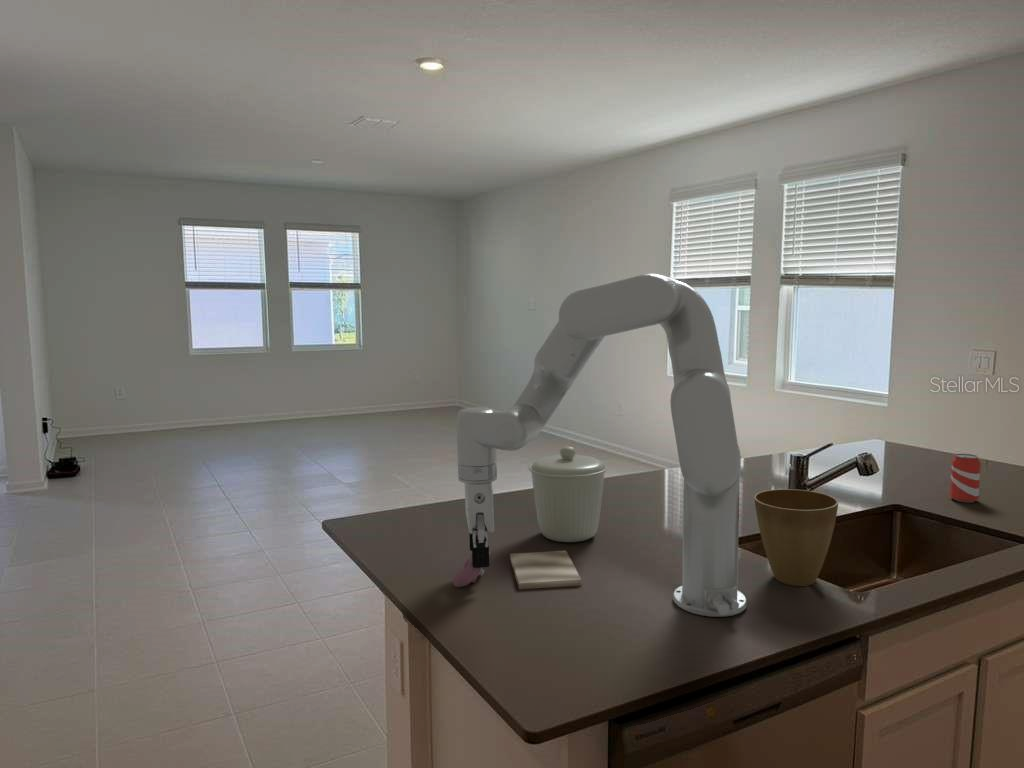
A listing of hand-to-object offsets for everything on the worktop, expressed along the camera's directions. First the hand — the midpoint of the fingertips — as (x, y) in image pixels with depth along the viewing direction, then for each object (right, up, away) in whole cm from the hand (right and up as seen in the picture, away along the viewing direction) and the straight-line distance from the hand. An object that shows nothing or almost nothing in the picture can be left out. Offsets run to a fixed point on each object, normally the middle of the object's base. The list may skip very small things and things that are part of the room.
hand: (479, 558), depth 138 cm
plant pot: (+61, -4, -2) cm, 61 cm away
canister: (+20, -1, +26) cm, 32 cm away
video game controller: (-1, -5, +1) cm, 5 cm away
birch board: (+13, -4, +4) cm, 14 cm away
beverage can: (+126, +3, +48) cm, 135 cm away
